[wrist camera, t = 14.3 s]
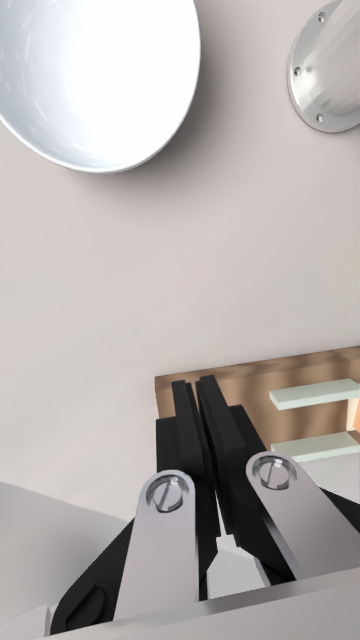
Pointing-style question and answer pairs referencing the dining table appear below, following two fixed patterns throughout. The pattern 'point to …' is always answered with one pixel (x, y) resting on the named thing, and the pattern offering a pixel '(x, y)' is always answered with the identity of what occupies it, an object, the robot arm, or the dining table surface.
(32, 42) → the serving bowl
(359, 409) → the terracotta block
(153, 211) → the dining table surface
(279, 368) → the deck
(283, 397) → the tunnel walls
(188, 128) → the dining table surface
